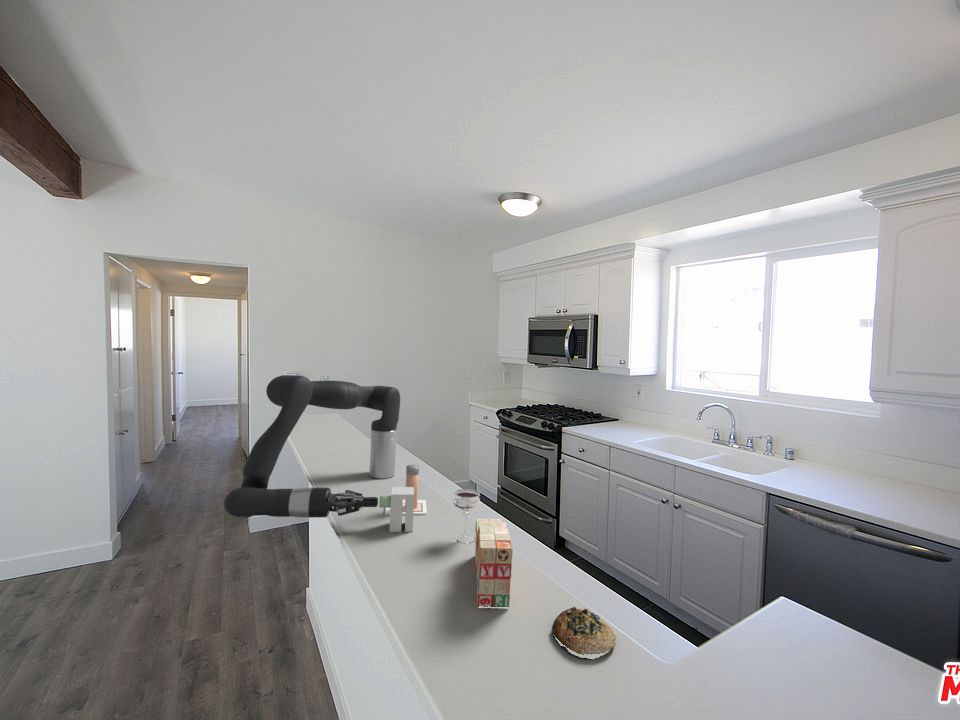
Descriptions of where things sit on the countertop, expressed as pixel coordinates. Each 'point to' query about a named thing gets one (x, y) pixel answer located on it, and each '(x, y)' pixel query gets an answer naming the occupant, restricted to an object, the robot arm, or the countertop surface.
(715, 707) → the countertop surface
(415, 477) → the terracotta marker
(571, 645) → the bread roll
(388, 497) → the button
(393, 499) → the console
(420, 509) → the white square board
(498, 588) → the stack of blocks
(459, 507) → the wineglass
